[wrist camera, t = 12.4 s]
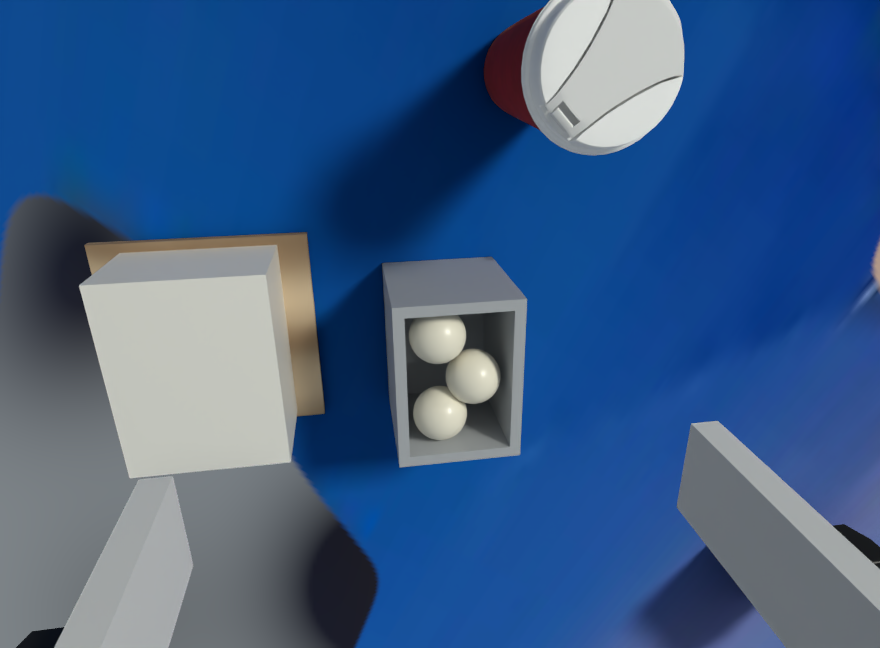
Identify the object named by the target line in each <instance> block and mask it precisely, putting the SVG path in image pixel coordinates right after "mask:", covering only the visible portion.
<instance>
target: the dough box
mask: <svg viewBox="0 0 880 648" xmlns="http://www.w3.org/2000/svg"><path fill="white" fill-rule="evenodd" d="M382 273H383V292H384V311H385V329H386V348H387V367H388V385H389V400H390V407H391V414H392V420H393V427H394V434H395V440H396V447H397V454H398V460H399V467H408V466H418V465H427V464H437V463H447V462H456V461H466V460H475V459H485V458H495V457H504V456H514V455H520V444H521V422H522V400H523V378H524V356H525V333H526V311H527V298H526V297H525V296H524V295H523V294H522V292H521V291H520V290H519V289H518V288H517V286H516V285H515V284H514V283H513V282H512V280H511V279H510V278H509V277H508V276H507V274H506V273H505V272H504V271H503V270H502V268H501V267H500V266H499V265H498V264H497V262H496V261H495V260H494V259H493V258H492V257H480V258H463V259H445V260H428V261H411V262H393V263H382Z"/></svg>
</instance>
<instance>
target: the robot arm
mask: <svg viewBox="0 0 880 648" xmlns="http://www.w3.org/2000/svg"><path fill="white" fill-rule="evenodd" d="M677 508H678V509H679V511H680V512H681V513H682V515H683V516H684V517H685V518H686V520H687V521H688V522H689V524H690V525H691V526H692V527H693V529H694V530H695V531H696V533H697V534H698V535H699V536H700V538H701V539H702V540H703V541H704V543H705V544H706V545H707V547H708V548H709V549H710V550H711V552H712V553H713V554H714V556H715V557H716V558H717V559H718V561H719V562H720V563H721V565H722V566H723V567H724V568H725V570H726V571H727V572H728V574H729V575H730V576H731V577H732V579H733V580H734V581H735V583H736V584H737V585H738V586H739V588H740V589H741V590H742V592H743V593H744V594H745V595H746V597H747V598H748V599H749V601H750V602H751V603H752V604H753V606H754V607H755V608H756V610H757V611H758V612H759V613H760V615H761V616H762V617H763V619H764V620H765V621H766V622H767V624H768V625H769V626H770V628H771V629H772V630H773V631H774V633H775V634H776V635H777V637H778V638H779V639H780V640H781V642H782V643H783V644H784V646H785V647H786V648H880V547H879V546H878V545H877V544H875V543H874V542H873V541H872V540H871V539H869V538H867V537H866V536H864V535H862V534H860V533H858V532H857V531H855V530H853V529H851V528H850V527H848V526H846V525H844V524H842V525H834V526H832V525H831V524H830V523H829V522H828V521H827V520H825V519H824V518H823V517H822V516H821V515H820V514H819V513H818V512H817V511H816V510H815V509H813V508H812V507H811V506H810V505H809V504H808V503H807V502H806V501H805V500H804V499H803V498H801V497H800V496H799V495H798V494H797V493H796V492H795V491H794V490H793V489H792V488H791V487H789V486H788V485H787V484H786V483H785V482H784V481H783V480H782V479H781V478H780V477H779V476H777V475H776V474H775V473H774V472H773V471H772V470H771V469H770V468H769V467H768V466H767V465H765V464H764V463H763V462H762V461H761V460H760V459H759V458H758V457H757V456H756V455H754V454H753V453H752V452H751V451H750V450H749V449H748V448H747V447H746V446H745V445H744V444H742V443H741V442H740V441H739V440H738V439H737V438H736V437H735V436H734V435H733V434H732V433H730V432H729V431H728V430H727V429H726V428H725V427H724V426H723V425H722V424H721V423H720V422H718V421H712V422H703V423H693V424H691V428H690V433H689V439H688V445H687V451H686V456H685V462H684V468H683V474H682V479H681V485H680V491H679V497H678V502H677ZM192 568H193V562H192V558H191V553H190V549H189V544H188V540H187V536H186V531H185V527H184V522H183V518H182V514H181V509H180V506H179V500H178V496H177V492H176V487H175V483H174V479H173V476H167V477H157V478H147V479H139V480H138V482H137V484H136V486H135V488H134V490H133V492H132V494H131V496H130V498H129V500H128V502H127V504H126V505H125V508H124V510H123V511H122V513H121V515H120V518H119V519H118V521H117V523H116V526H115V527H114V529H113V531H112V533H111V536H110V537H109V539H108V541H107V543H106V545H105V548H104V549H103V552H102V553H101V555H100V557H99V559H98V561H97V563H96V565H95V567H94V569H93V571H92V573H91V575H90V577H89V579H88V581H87V584H86V585H85V587H84V590H83V591H82V593H81V595H80V598H79V599H78V601H77V603H76V605H75V607H74V609H73V611H72V613H71V615H70V617H69V619H68V621H67V623H66V625H65V627H63V628H55V629H47V630H40V631H32V632H31V633H30V634H29V635H28V636H27V637H26V638H25V639H24V640H23V641H22V642H21V643H20V644H19V645H18V646H17V647H16V648H168V647H169V644H170V640H171V637H172V634H173V631H174V627H175V624H176V621H177V617H178V614H179V611H180V608H181V604H182V601H183V597H184V594H185V591H186V588H187V584H188V581H189V578H190V574H191V571H192Z"/></svg>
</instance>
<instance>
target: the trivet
mask: <svg viewBox="0 0 880 648" xmlns="http://www.w3.org/2000/svg"><path fill="white" fill-rule="evenodd" d="M264 245H277V248H278V256H279V265H280V273H281V281H282V289H283V297H284V305H285V313H286V321H287V330H288V338H289V346H290V354H291V362H292V370H293V378H294V387H295V395H296V403H297V416H305V415H317V414H325V406H324V396H323V386H322V376H321V366H320V357H319V347H318V337H317V327H316V318H315V308H314V298H313V288H312V278H311V269H310V259H309V249H308V239H307V232H300V233H280V234H260V235H240V236H220V237H200V238H180V239H160V240H140V241H119V242H99V243H87V244H86V245H85V250H86V254H87V258H88V261H89V266H90V270H91V273H92V275H93V274H94V273H95V272H97V271H98V270H99V269H100V268H102V267H103V266H104V265H105V264H107V263H108V262H109V261H110V260H112V259H113V258H114V257H115V256H117V255H118V254H119V253H130V252H149V251H169V250H188V249H207V248H226V247H245V246H264Z"/></svg>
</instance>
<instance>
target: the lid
mask: <svg viewBox="0 0 880 648" xmlns="http://www.w3.org/2000/svg"><path fill="white" fill-rule="evenodd" d="M79 287H80V292H81V295H82V299H83V303H84V306H85V311H86V314H87V318H88V322H89V326H90V330H91V334H92V337H93V341H94V345H95V348H96V353H97V356H98V360H99V364H100V368H101V371H102V375H103V379H104V383H105V387H106V391H107V395H108V398H109V402H110V406H111V409H112V414H113V417H114V421H115V425H116V429H117V433H118V437H119V440H120V444H121V448H122V452H123V455H124V459H125V463H126V467H127V471H128V475H129V478H139V477H149V476H158V475H169V474H179V473H189V472H198V471H208V470H219V469H229V468H239V467H247V466H258V465H268V464H278V463H288V462H291V457H292V449H293V441H294V433H295V426H296V418H297V403H296V395H295V387H294V378H293V370H292V362H291V354H290V346H289V338H288V330H287V321H286V313H285V305H284V297H283V289H282V281H281V273H280V265H279V256H278V248H277V245H264V246H245V247H226V248H207V249H188V250H169V251H149V252H130V253H119V254H118V255H117V256H115V257H114V258H113V259H112V260H110V261H109V262H108V263H107V264H105V265H104V266H103V267H102V268H100V269H99V270H98V271H97V272H95V273H94V274H93V275H92V276H90V277H89V278H88V279H87V280H85V281H84V282H83V283H82V284H80V285H79Z"/></svg>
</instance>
